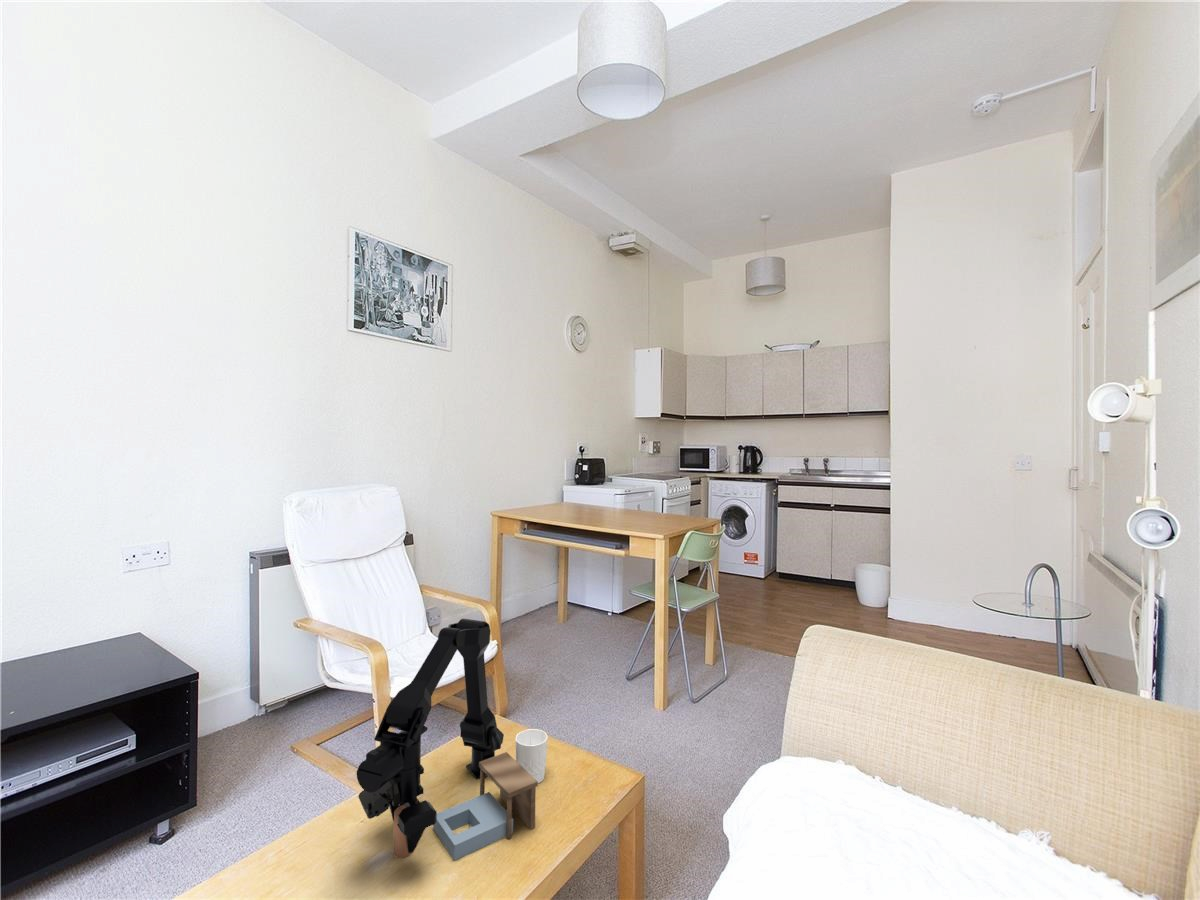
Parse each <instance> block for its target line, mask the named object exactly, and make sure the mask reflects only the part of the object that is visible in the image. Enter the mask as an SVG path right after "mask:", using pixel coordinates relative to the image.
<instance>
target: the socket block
mask: <svg viewBox="0 0 1200 900" xmlns="http://www.w3.org/2000/svg"><path fill="white" fill-rule="evenodd" d="M467 824H469V825H470V827H469V828H467V829H464V830H462V831H460V832H458V833H456V834H455V833H454V832H453V830H456V829H458V828H460V827H463V826H465V825H467ZM432 826H433V831H434V832H435V834H436V835H437V837H438V838H439V840H440V841H441V843H442V844H443V846H444V847H445V849H446V850H447V852H448V853H449V855H450V856H451V858H452V859H453V861H457V860H460V859H462V858H463V857H466V856H468V855H469V854H471V853H474V852H476V851H478V850H480V849H482V848H484V847H487V846H488V845H491V844H492V843H495V842H497V841H499V840H501V839H503V838H505V837H506V832H507V809H505V807H503V806H502V804H501V803H500V802H499V801H498V800H497V799H496V798H495V796H494V795H493V794H492V793H491V792H490V791H488V792H486V793H485V792H484V794H483V795H480V794H479V795H478V796H475V797H473V798H470V799H468V800H466V801H464V802H462V803H459V804H456V805H454V806H452V807H448V808H446V809H444V810H441V811H439V812H437V817H436V823H435V824H434V825H432ZM513 833H514V818H513V817H512V823H511V835H512V834H513Z"/></svg>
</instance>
